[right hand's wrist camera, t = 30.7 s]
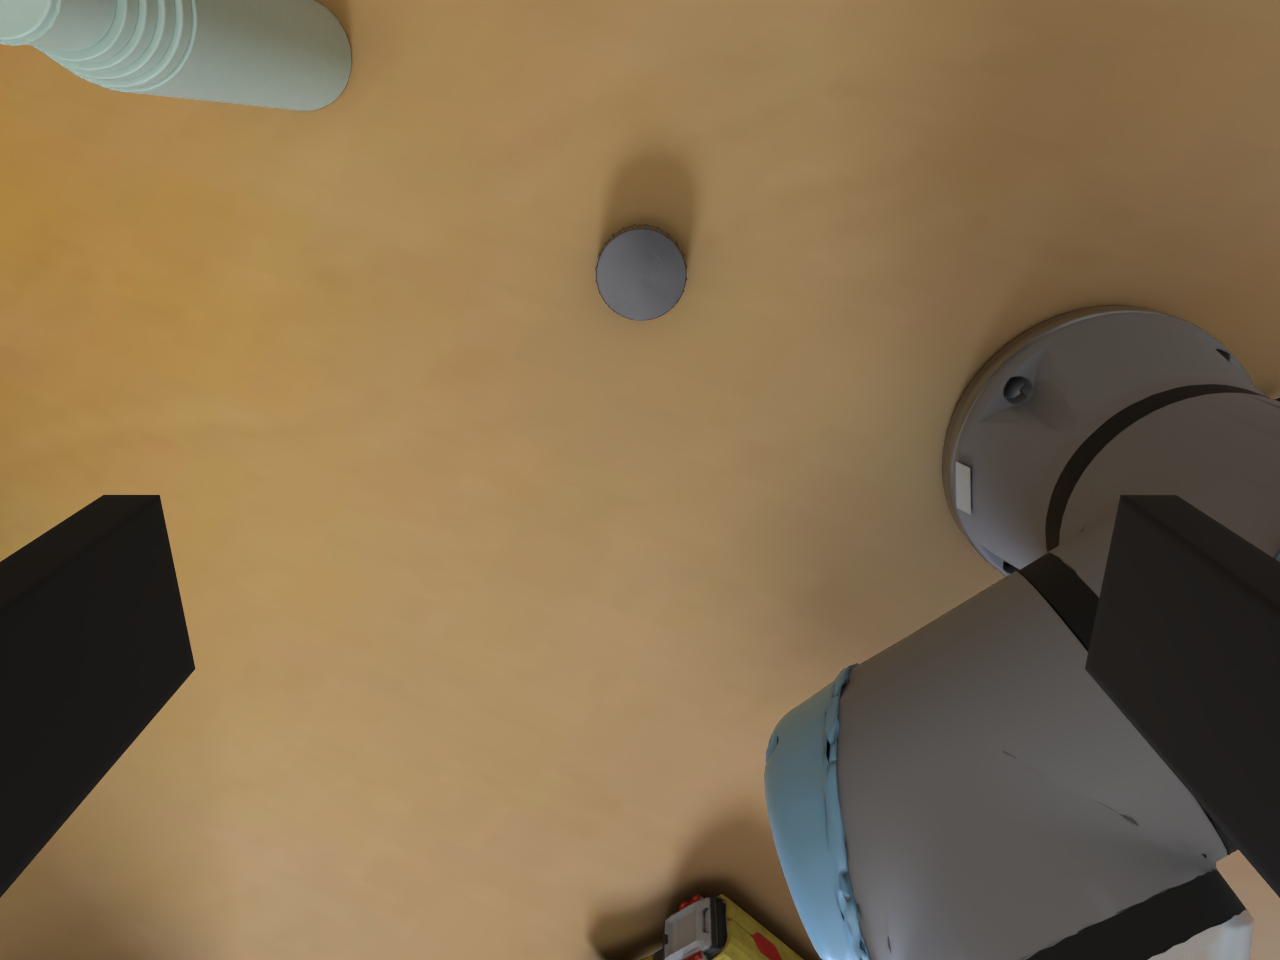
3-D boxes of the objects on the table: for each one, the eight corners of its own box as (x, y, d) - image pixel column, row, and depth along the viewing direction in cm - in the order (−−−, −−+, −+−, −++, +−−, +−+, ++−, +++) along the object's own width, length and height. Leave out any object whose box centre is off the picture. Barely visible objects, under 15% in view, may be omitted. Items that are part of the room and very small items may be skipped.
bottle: (362, 104, 41) (117, 67, 22) (261, 117, 41) (-70, 91, 22) (338, -12, 39) (50, -163, 20) (233, 2, 39) (-152, -135, 20)
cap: (703, 268, 44) (706, 274, 42) (642, 331, 45) (642, 340, 43) (640, 204, 42) (640, 207, 41) (578, 271, 44) (575, 276, 42)
